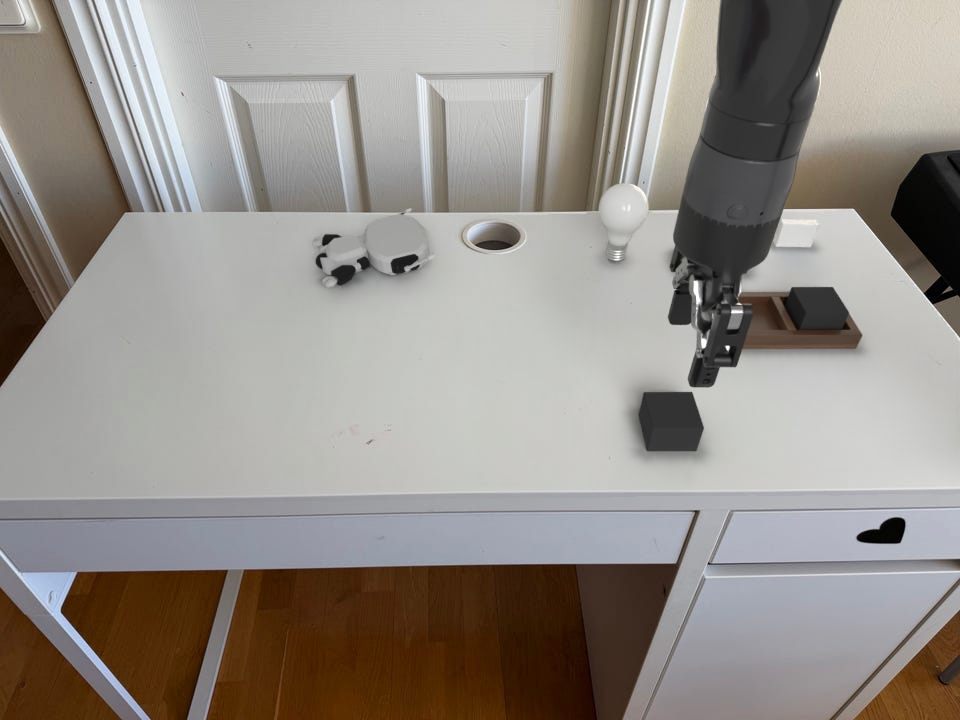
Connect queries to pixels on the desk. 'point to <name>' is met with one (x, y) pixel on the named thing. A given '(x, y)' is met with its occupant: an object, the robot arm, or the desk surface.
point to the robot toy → (374, 249)
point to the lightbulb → (622, 216)
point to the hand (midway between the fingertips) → (688, 352)
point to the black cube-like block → (670, 421)
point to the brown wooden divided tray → (790, 327)
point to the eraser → (795, 233)
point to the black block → (816, 308)
